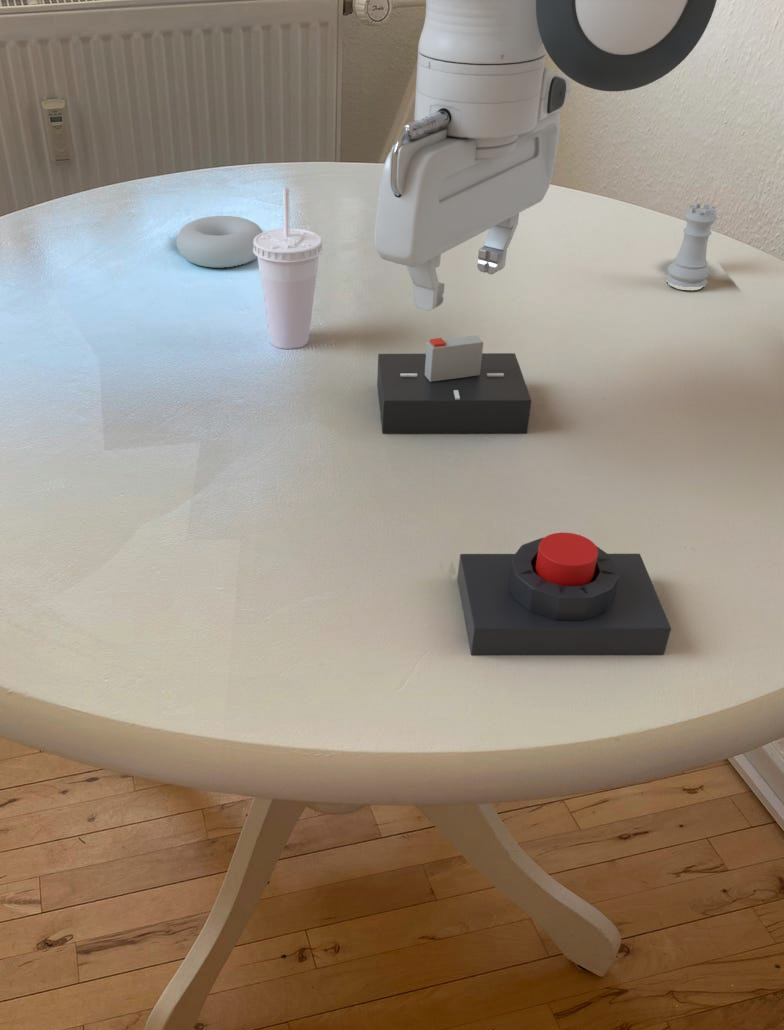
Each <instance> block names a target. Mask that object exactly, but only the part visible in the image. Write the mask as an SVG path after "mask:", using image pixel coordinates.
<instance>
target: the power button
mask: <svg viewBox="0 0 784 1030" xmlns="http://www.w3.org/2000/svg"><path fill="white" fill-rule="evenodd" d="M542 538H543V537H542ZM596 546H597V545H596V544H595V542H593V541H592V540H590V539H589V538H588V537H586V536H583V535H581V534H577V533H573V532H554V533H551V534H548V535H546V536H545V537H544V538H543V539H542V540H541V542H540V544H539V549H538V555H537V561H536V572H537V574H538V576H540V577H541V578H542V579H543V580H545V581H548V582H551V583H554V584H557V585H560V586H583V585H585V584H588V583H589V582H590V581H591V580H592V578H593V576H594V571H595V566H596V561H597V557H598V549H597V547H598V546H597V547H596Z"/></svg>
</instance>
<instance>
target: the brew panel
mask: <svg viewBox="0 0 784 1030" xmlns="http://www.w3.org/2000/svg"><path fill="white" fill-rule="evenodd" d="M425 361H426V353H378V356H377V377H376V387H377V395H378V405H379V406H378V407H379V415H380V425H381V433H382V434H527V433H528V428H529V421H530V415H531V406H532V398H531V395H530V392H529V389H528V387H527V384H526V381H525V378H524V376H523V372H522V369H521V366H520V364H519V361H518V357H517V355H516V353H515V352H514V353H513V352H507V353H506V352H505V353H504V352H503V353H502V352H499V353H497V352H496V353H495V352H494V353H493V352H491V353H488V352H487V353H483V352H482V360H481V369H480V375H478V376H471V377H463V378H456V379H449V380H441V381H434V382H430V381H429V380H428V379H427V377H426V376H425Z"/></svg>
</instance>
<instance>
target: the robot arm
mask: <svg viewBox="0 0 784 1030" xmlns="http://www.w3.org/2000/svg"><path fill="white" fill-rule="evenodd" d="M717 1H718V0H425V17H424V22H423V27H422V30H421V33H420V36H419V40H418V46H417V62H416V81H415V100H414V114H413V115H414V117H413V120H411V121H409V122H407V123H406V124H405V125H404V126H403V127H402V129H401V134H400V136H399V137H398V138H397V141H396V142H395V144H393V145H392V147H391V150H390V151H389V153H388V155H387V156H386V159H385V160H384V164H383V168H382V172H381V177H380V184H379V189H378V197H377V206H376V215H375V223H374V224H375V225H374V236H373V237H374V239H373V240H374V241H373V242H374V248H375V250H376V252H377V255H378V256H379V257H380V259H382V260H385V261H387V262H391V263H394V264H398V265H402V266H406V268H407V269H406V270H407V271H408V274H409V276H410V278H411V281H412V284H413V285H414V287H413V289H414V290H413V304H414V306H415V307H416V308H417V309H420V310H424V311H427V312H431V311H432V310H434V309H436V308H438V307H440V306H441V305H443V303H444V296H443V295H444V293H445V283H443V282H439V279H438V274H437V270H436V268H439V267H440V266H441V257H442V254H444V253H446V252H448V251H450V250H452V249H454V248H456V247H458V246H459V245H461V244H463V243H465V242H467V241H469V240H471V239H472V238H475V237H477V236H478V235H480V234H482V233H484V232H486V231H487V233H486V236H485V239H484V243H483V246H481V247H480V248H479V249H478V254H477V255H478V256H477V258H478V260H477V267H476V268H478V271H479V272H481V273H487V274H488V275H494V274H495V273H498V272H499V271H501V270H503V269H504V268H505V266H506V262H507V261H506V259H507V251H508V248H509V247H510V244H511V241H512V240H513V237H514V234H515V232H516V230H517V227H518V224H519V219H520V218H519V216H520V214H521V213H522V212H524V211H526V210H527V209H529V208H532V207H534V206H535V205H538V204H539V203H541V202H542V201H543V200H544V198H545V197H546V194H547V192H548V190H549V188H550V185H551V183H552V180H553V175H554V169H555V164H556V160H557V154H558V147H559V140H560V134H561V126H562V125H561V123H562V122H561V119H562V118H561V115H560V112H559V111H562V110H564V109H565V108H566V106H567V105H568V102H569V98H570V91H571V80H572V81H574V82H575V83H578V84H580V85H581V86H583V87H586V88H589V89H593V90H596V91H602V92H625V91H631V90H635V89H639V88H642V87H645V86H648V85H650V84H652V83H654V82H656V81H659V80H660V79H661V78H663V77H665V76H667V75H668V74H669V73H671V72H672V71H673V70H674V69H675V68H676V67H678V66H679V65H680V64H681V63H682V62H683V61H685V60H686V58H687V57H688V56H689V55H690V54H691V53H692V51H693V50H694V49H695V47H696V46H697V44H698V43H699V42H700V40H701V39H702V37H703V35H704V33H705V31H706V29H707V27H708V26H709V23H710V21H711V18H712V16H713V13H714V10H715V8H716V4H717ZM547 54H548V56H549V58H550V59H551V61H552V62H553V63H554V65H555V66H556V67H557V69H559V70H560V72H562V73H559V72H557V71H554V70H552V69H550V68H548V67H545V64H546V63H545V62H546V55H547Z"/></svg>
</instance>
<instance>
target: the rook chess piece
mask: <svg viewBox="0 0 784 1030" xmlns="http://www.w3.org/2000/svg"><path fill="white" fill-rule="evenodd" d="M716 210H717V208H716V206H714V205H710V203H704V204H703V207H701V202H697V203H694V204H690V205H689V209H688V210H687V212H685V213H684V214H683V215H684V219H685V221H686V227H685V228H684V229H683V234H684V235H683V239H682V242H681V245H680V248H679V250H678V253H677V255H676V256H675V258H673V262H671V263H670V264H669V265H668V267H667V270H666V271H667V275H666V276H665V277H666V280H667V281H668V282H669V283H672V284H674V285H678V286H682V287H701V286H704V285H706V284H707V283H708V284H709V280H708V279H707V278H708V277H709V276H710V268H709V266H708V264H709V263H708V260H707V250H708V242H709V237H710V236H711V235H712V230H711V227H712V225H713V224H714V223H715V222H716V221H717V220H718V215H717V214H716ZM707 280H708V281H707ZM708 284H707V285H708ZM707 285H706V286H707Z"/></svg>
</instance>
